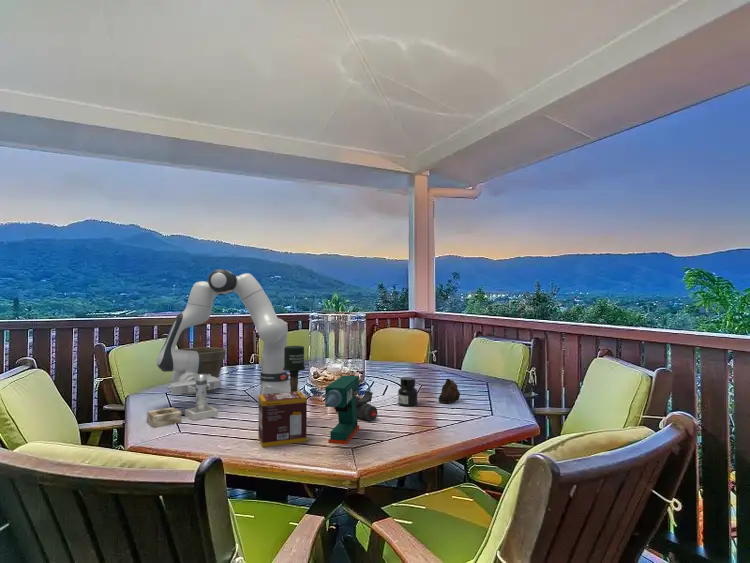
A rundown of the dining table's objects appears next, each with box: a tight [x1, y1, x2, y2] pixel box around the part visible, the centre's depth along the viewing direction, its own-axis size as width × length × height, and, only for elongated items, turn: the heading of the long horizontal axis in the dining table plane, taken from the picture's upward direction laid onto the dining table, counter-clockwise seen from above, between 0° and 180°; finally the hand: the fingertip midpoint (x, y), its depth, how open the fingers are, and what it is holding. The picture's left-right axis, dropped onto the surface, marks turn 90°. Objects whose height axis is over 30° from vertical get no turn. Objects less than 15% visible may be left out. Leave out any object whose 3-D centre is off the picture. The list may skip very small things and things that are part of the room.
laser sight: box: [333, 390, 378, 422], centre depth 186 cm, size 10×22×10 cm, turn 45°
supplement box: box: [257, 390, 308, 448], centre depth 155 cm, size 10×15×16 cm
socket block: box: [146, 406, 182, 428], centre depth 176 cm, size 10×10×4 cm
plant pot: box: [178, 346, 227, 396], centre depth 228 cm, size 25×25×22 cm
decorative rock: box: [438, 378, 461, 404], centre depth 209 cm, size 12×6×11 cm, turn 131°
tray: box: [184, 404, 219, 421], centre depth 185 cm, size 10×10×3 cm
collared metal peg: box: [195, 374, 207, 413], centre depth 185 cm, size 4×4×16 cm
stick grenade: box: [283, 345, 306, 392], centre depth 176 cm, size 8×9×30 cm
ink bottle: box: [397, 376, 418, 407], centre depth 204 cm, size 10×9×12 cm
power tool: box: [324, 374, 360, 445], centre depth 154 cm, size 32×7×20 cm, turn 168°
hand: (202, 389), depth 184 cm, fingers closed on collared metal peg, 4 cm apart
